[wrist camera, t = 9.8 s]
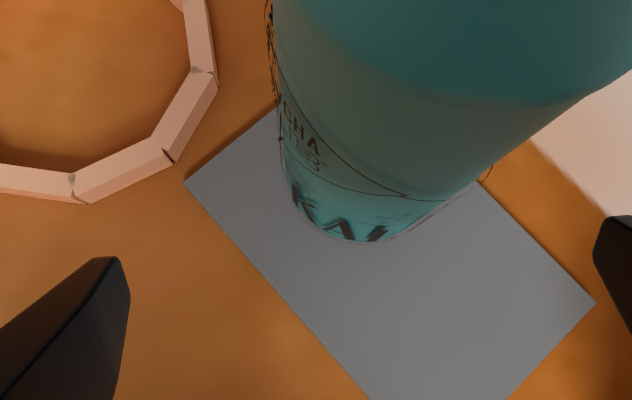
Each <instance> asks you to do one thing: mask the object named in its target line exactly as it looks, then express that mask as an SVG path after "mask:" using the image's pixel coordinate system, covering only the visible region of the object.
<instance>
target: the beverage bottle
mask: <svg viewBox="0 0 632 400" xmlns="http://www.w3.org/2000/svg"><path fill="white" fill-rule="evenodd" d="M267 3H268V0H267V2H266V5H265V9H266V6H267ZM264 18H265V13H264ZM269 18H270V19H271V20H272V25H273V27H274V31H273V33H274V37H275V48H276V52H274V49H273V44H272V43H271V40H270V30H269V22H268V26H267V30H266V32H267V35H268V30H269V35H268V37H269V40H270V43H271V46H272V50H273V52H274V55H275V54H276V55H275V56H274V58H276V61H277V72H278V84H279V95H278V90H277V84H276V81H275V82H274V84H273V86H274V89H275V84H276V90H277V95H278V100H279V103H280V107H281V112H280V117H279V118H280V138H279V137H278V141H279V142H280V156H281V149H282V150H283V148H281V147H282V145H281V140H282V141H283V143H284V145H283V146H284V153H283V155H284V154H285V156H283V155H282V156H283V157H285V159H284V160H285V166H286V176H287V179H286V180H287V182H288V186H289V189H290V193H291V195H292V197H293V199H292V200H293V202H294V203H295V205H296V206H297V207H298V209H299V210H300V211H301V212H302V213H303V215H304V216H305V217H306V218H307V219H308V220H309V221H310V222H311V223H312V224H314V225H315V226H317V227H318V228H319V229H318V230H320V229H321V230H323V231H324V232H326V233H328V234H330V235H332V237H334V236H335V237H337V239H338V238H340V240H341V239H344V240H348V241H349V242H350V241H355V243H356V242H375V241H377V240H382V239H385V238H388V237H391V236H393V235H395V234H397V233H399V232H401V231H403V230H404V229H406V228H407V227H409V226H410V225H412V224H413V223H414V222H416V221H417V220H419V219H420V218H421V219H422V217H423V216H424V215H426V216H427V214H428V215H429V212H430V211H432V210H433V209H435V208H436V207H437V206H439V205H440V204H442V203H443V202H445V201H446V200H450V199H449V198H450V197H452V196H453V195H455V194H456V193H458V192H459V191H461V190H462V189H463V188H465V187H466V186H468V185H469V184H471V183H472V182H473V181H475V180H476V179H477V178H478V177H479V176H480V175H481V174H482V173H483V172H484V171H485V170H487V169H488V168H489V167H491V166H492V168H493V165H494V164H495V163H496V162H498V161H499V160H500V159H502V158H503V157H504V156H506V155H507V154H508V153H510V152H511V151H512V150H514V149H515V148H517V147H518V146H519V145H521V144H522V143H523V142H525V141H526V140H527V139H529V138H530V137H531V136H533V135H534V134H535V133H537V132H538V131H539V130H541V129H542V128H543V127H545V126H546V125H548V124H549V123H550V122H552V121H553V120H554V119H555V118H557V117H558V116H560V115H561V114H562V113H564V112H565V111H567V110H568V109H569V108H571V107H572V106H573V105H575V104H576V103H577V102H579V101H580V100H581V99H583V98H584V97H586V96H588V95H590V94H591V93H594V92H596V91H598V90H600V89H602V88H604V87H605V86H607V85H609V84H611V83H612V82H613V81H615V80H616V79H618V78H619V77H620V76H622V75H624V74H625V73H626V72H628V71H629V70H631V69H632V0H273V7H272V4H271V13H270V12H269ZM264 20H265V19H264ZM265 27H266V26H265ZM272 36H273V34H272ZM269 40H268V38H267V43H268V44H269V48H268V52H269V51H270V43H269ZM268 54H269V53H268ZM269 61H270V56H269ZM272 64H274V62H273V61H272ZM275 64H276V62H275ZM270 67H271V65H270ZM270 69H271V70H272V68H270ZM272 74H273V70H272V71H271V76H272ZM274 74H275V70H274ZM272 78H273V80H272V82H273V81H274V80H275V79H274V76H272ZM274 89H273V92H274ZM274 93H275V92H274ZM275 96H276V95H275ZM276 100H277V99H275V100H274V102H275V103H276ZM277 103H278V101H277ZM277 103H276V104H277ZM279 103H278V106H277V110H278V107H279ZM276 104H275V105H276ZM277 110H276V111H277ZM279 110H280V109H279ZM278 113H279V112H278V111H277V112H276V115H277V116H278V115H279V114H278ZM277 116H276V117H277ZM281 122H282V123H281ZM281 125H282V131H283V137H281ZM278 129H279V128H278ZM278 129H277V131H278ZM283 143H282V144H283ZM283 157H282V158H283ZM282 158H281V160H282ZM281 165H282V161H281ZM492 168H491V169H492ZM283 170H284V169H283ZM490 171H491V170H490ZM284 172H285V171H284ZM284 172H283V173H284ZM489 173H490V172H489ZM489 173H488V174H489ZM282 175H284V174H282ZM286 176H285V178H286ZM487 176H488V175H487ZM484 180H485V179H484ZM484 180H483V181H484ZM483 181H482V182H483ZM283 182H284V181H283ZM482 182H481V183H482ZM481 183H480V184H481ZM284 184H285V183H284ZM480 184H479V185H480ZM479 185H478V186H479ZM287 193H288V192H287ZM287 195H289V194H287ZM461 196H462V195H461ZM290 197H291V196H290ZM459 197H460V196H459ZM452 199H454V198H452ZM456 199H457V197H456ZM292 200H291V201H292ZM454 201H455V200H454ZM293 202H292V203H293ZM449 203H450V202H449ZM449 203H448V204H449ZM292 205H293V204H292ZM445 206H447V204H446V205H445ZM445 206H444V207H445ZM295 208H296V207H295ZM445 208H446V207H445ZM298 209H297V210H298ZM438 209H439V210H440V208H438ZM295 210H296V209H295ZM436 210H437V209H436ZM433 211H434V210H433ZM440 211H441V210H440ZM440 211H439V212H440ZM299 213H300V212H299ZM299 213H298V214H299ZM434 214H435V211H434ZM434 214H433V213H432V212H431V215H432V216H433V215H434ZM299 215H300V214H299ZM301 215H302V214H301ZM304 216H303V217H304ZM429 216H430V215H429ZM429 216H428V217H429ZM428 217H427V218H428ZM430 217H431V216H430ZM430 217H429V218H430ZM429 218H428V219H429ZM307 219H306V220H307ZM422 220H423V219H422ZM426 220H427V219H426ZM426 220H424V221H426ZM419 221H420V220H419ZM424 221H421V222H420V224H421V223H423V222H424ZM310 222H309V223H310ZM312 224H311V225H312ZM420 224H417V225H416V226H415V227H417V226H418V225H420ZM311 225H310V226H311ZM314 225H313V226H314ZM315 226H314V227H315ZM317 227H315V228H317ZM415 227H414V228H415ZM315 228H314V229H315ZM414 228H412V229H414ZM412 229H410V230H412ZM410 230H409V231H410ZM318 232H319V231H318ZM324 232H323V233H324ZM407 232H408V231H407ZM320 233H321V232H320ZM323 233H322V234H323ZM326 233H325V234H326ZM402 235H403V234H402ZM325 236H326V235H325ZM397 236H398V235H397ZM327 237H328V236H327ZM395 237H396V236H395ZM395 237H393V239H394V238H395ZM399 237H400V236H399ZM332 239H333V238H332ZM390 239H391V240H392V238H390ZM334 240H335V239H334ZM344 240H343V241H344ZM386 240H387V239H386ZM391 240H390V241H391ZM337 241H338V240H337ZM348 241H347V242H348ZM382 241H383V240H382ZM388 241H389V240H387V242H388ZM340 242H341V241H340ZM344 243H345V242H344ZM351 243H352V242H351ZM353 243H354V242H353ZM377 243H379V242H377ZM383 243H384V242H383ZM348 244H350V243H348ZM357 244H358V243H357ZM359 244H361V243H359ZM362 244H363V243H362ZM365 244H366V243H365ZM368 244H370V243H368ZM355 245H356V244H355ZM370 245H372V244H370Z"/></svg>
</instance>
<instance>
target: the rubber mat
mask: <svg viewBox="0 0 632 400" xmlns="http://www.w3.org/2000/svg"><path fill="white" fill-rule="evenodd" d="M279 109H280V110H279ZM276 110H277V107H276V108H274V109H273V110H272V111H271V112H269V113H268V114H267V115H266V116H264V117H263V118H262V119H261V120H259V121H258V122H257V123H256V124H254V125H253V126H252V127H251V128H250V129H248V130H247V131H246V132H245V133H243V134H242V135H241V136H240V137H238V138H237V139H236V140H235V141H233V142H232V143H231V144H230V145H229V146H227V147H226V148H225V149H224V150H222V151H221V152H220V153H219V154H217V155H216V156H215V157H214V158H212V159H211V160H210V161H209V162H207V163H206V164H205V165H204V166H203V167H201V168H200V169H199V170H198V171H196V172H195V173H194V174H193V175H191V176H190V177H189V178H188V179H186V180H185V181H184V182H183V185H184V186H185V187H186V188H187V189H188V190H189V192H190V193H191V194H192V195H193V196H194V197H195V198H196V200H197V201H198V202H199V203H200V204H201V205H202V207H203V208H204V209H205V210H206V211H207V212H208V213H209V215H210V216H211V217H212V218H213V219H214V220H215V221H216V223H217V224H218V225H219V226H220V227H221V228H222V230H223V231H224V232H225V233H226V234H227V235H228V236H229V238H230V239H231V240H232V241H233V242H234V243H235V245H236V246H237V247H238V248H239V249H240V250H241V251H242V253H243V254H244V255H245V256H246V257H247V258H248V259H249V261H250V262H251V263H252V264H253V265H254V266H255V268H256V269H257V270H258V271H259V272H260V273H261V274H262V276H263V277H264V278H265V279H266V280H267V281H268V283H269V284H270V285H271V286H272V287H273V288H274V289H275V291H276V292H277V293H278V294H279V295H280V296H281V297H282V299H283V300H284V301H285V302H286V303H287V304H288V306H289V307H290V308H291V309H292V310H293V311H294V312H295V314H296V315H297V316H298V317H299V318H300V319H301V321H302V322H303V323H304V324H305V325H306V326H307V327H308V329H309V330H310V331H311V332H312V333H313V334H314V335H315V337H316V338H317V339H318V340H319V341H320V342H321V344H322V345H323V346H324V347H325V348H326V349H327V350H328V352H329V353H330V354H331V355H332V356H333V357H334V359H335V360H336V361H337V362H338V363H339V364H340V365H341V367H342V368H343V369H344V370H345V371H346V372H347V374H348V375H349V376H350V377H351V378H352V379H353V380H354V382H355V383H356V384H357V385H358V386H359V387H360V388H361V390H362V391H363V392H364V393H365V394H366V395H367V397H368V398H369V399H370V400H506V399H507V398H508V397H509V396H510V395H511V394H512V392H513V391H514V390H515V389H516V388H517V387H518V386H519V385H520V384H521V383H522V382H523V381H524V380H525V379H526V378H527V376H528V375H529V374H530V373H531V372H532V371H533V370H534V369H535V368H536V367H537V366H538V365H539V364H540V363H541V361H542V360H543V359H544V358H545V357H546V356H547V355H548V354H549V353H550V352H551V351H552V350H553V349H554V348H555V347H556V345H557V344H558V343H559V342H560V341H561V340H562V339H563V338H564V337H565V336H566V335H567V334H568V333H569V332H570V331H571V329H572V328H573V327H574V326H575V325H576V324H577V323H578V322H579V321H580V320H581V319H582V318H583V317H584V316H585V314H586V313H587V312H588V311H589V310H590V309H591V308H592V307H593V306H594V305H595V304H596V303H597V302H596V301H595V300H594V299H593V298H592V297H591V296H590V295H589V294H588V293H587V292H586V291H585V290H584V289H583V288H582V287H581V286H580V285H579V284H578V283H577V282H576V281H575V280H574V279H573V278H572V277H571V276H570V275H569V274H568V273H567V272H566V271H565V270H564V269H563V268H562V267H561V266H560V265H559V264H558V263H557V262H556V261H555V260H554V259H553V258H552V257H551V256H550V255H549V254H548V253H547V252H546V251H545V250H544V249H543V248H542V247H541V246H540V245H539V244H538V243H537V242H536V241H535V240H534V239H533V238H532V237H531V236H530V235H529V234H528V233H527V232H526V231H525V230H524V229H523V228H522V227H521V226H520V225H519V224H518V223H517V222H516V221H515V220H514V219H513V218H512V217H511V216H510V215H509V214H508V213H507V212H506V211H505V210H504V209H503V208H502V207H501V206H500V205H499V204H498V203H497V202H496V201H495V200H494V199H493V198H492V197H491V196H490V194H489V193H488V192H487V191H486V190H485V189H484V188H483V187H482V186H481V185H479V183H478V182H477V181H476V180H475V181H473V182H472V183H471V184H469V185H468V186H466V187H465V188H463V189H462V190H461V191H459V192H458V193H456V194H455V195H453V196H452V197H450V198H449V199H450V200H446V201H445V202H443V203H442V204H440V205H439V206H437V207H436V208H435V209H433V210H434V211H435V214H434V211H433V210H432V211H430V212H429V215H430V216H431V217H430V216H429V215H428V214H427V216H426V215H424V216H423V217H422V219H423V220H422V219H421V218H420V219H419V220H420V221H419V220H417V221H416V222H414V223H413V224H412V225H410V226H409V227H407V228H406V229H404V230H403V231H401V232H399V233H397V234H395V235H393V236H391V237H388V238H385V239H382V240H383V241H382V240H377V241H375V242H356V243H355V241H350V242H349V241H348V240H344V239H341V240H340V238H338V239H337V237H335V236H334V237H332V235H330V234H328V233H326V232H324V231H323V230H321V229H320V230H318V229H319V228H318V227H317V226H315V225H314V224H312V223H311V222H310V221H309V220H308V219H307V218H306V217H305V216H304V215H303V213H302V212H301V211H300V210H299V209H298V207H297V206H296V205H295V203H294V202H293V200H292V199H293V197H292V195H291V193H290V189H289V186H288V182H287V180H286V179H287V176H286V166H285V160H284V159H285V157H283V156H285V154H284V155H283V153H284V146H283V145H284V143H283V141H282V140H281V145H282V147H281V148H283V150H282V149H281V156H280V142H279V141H278V137H279V138H280V118H279V117H280V112H281V107H280V104H279V107H278V110H277V111H278V112H279V113H278V114H279V115H278V116H277V115H276V112H277V111H276ZM276 116H277V117H276ZM281 123H282V122H281ZM278 128H279V129H278ZM277 129H278V131H277ZM281 137H283V131H282V125H281ZM282 143H283V144H282ZM282 155H283V156H282ZM282 157H283V158H282ZM281 158H282V160H281ZM281 161H282V165H281ZM283 169H284V170H283ZM284 171H285V172H284ZM283 172H284V173H283ZM282 174H284V175H282ZM285 176H286V178H285ZM283 181H284V182H283ZM284 183H285V184H284ZM478 185H479V186H478ZM287 192H288V193H287ZM287 194H289V195H287ZM461 195H462V196H461ZM290 196H291V197H290ZM459 196H460V197H459ZM456 197H457V199H456ZM452 198H454V199H452ZM291 200H292V201H291ZM454 200H455V201H454ZM292 202H293V203H292ZM449 202H450V203H449ZM448 203H449V204H448ZM292 204H293V205H292ZM446 204H447V206H445V205H446ZM444 206H445V207H446V208H445V207H444ZM295 207H296V208H295ZM438 208H440V210H441V211H440V210H439V209H438ZM295 209H296V210H295ZM297 209H298V210H297ZM436 209H437V210H436ZM439 211H440V212H439ZM299 212H300V213H299ZM431 212H432V213H433V214H434V215H433V216H432V215H431ZM298 213H299V214H300V215H299V214H298ZM301 214H302V215H301ZM303 216H304V217H303ZM428 216H429V217H430V218H429V217H428ZM427 217H428V218H429V219H428V218H427ZM306 219H307V220H306ZM426 219H427V220H426ZM424 220H426V221H424ZM421 221H424V222H423V223H421V224H420V222H421ZM309 222H310V223H309ZM311 224H312V225H311ZM417 224H420V225H418V226H417V227H415V226H416V225H417ZM310 225H311V226H310ZM313 225H314V226H315V227H317V228H315V227H314V226H313ZM414 227H415V228H414ZM314 228H315V229H314ZM412 228H414V229H412ZM410 229H412V230H410ZM409 230H410V231H409ZM318 231H319V232H318ZM407 231H408V232H407ZM320 232H321V233H320ZM323 232H324V233H323ZM322 233H323V234H322ZM325 233H326V234H325ZM402 234H403V235H402ZM325 235H326V236H325ZM397 235H398V236H397ZM327 236H328V237H327ZM395 236H396V237H395ZM399 236H400V237H399ZM393 237H395V238H394V239H393ZM332 238H333V239H332ZM390 238H392V240H391V239H390ZM334 239H335V240H334ZM386 239H387V240H389V241H388V242H387V240H386ZM337 240H338V241H337ZM343 240H344V241H343ZM390 240H391V241H390ZM340 241H341V242H340ZM347 241H348V242H347ZM344 242H345V243H344ZM351 242H352V243H351ZM353 242H354V243H353ZM377 242H379V243H377ZM383 242H384V243H383ZM348 243H350V244H348ZM357 243H358V244H357ZM359 243H361V244H359ZM362 243H363V244H362ZM365 243H366V244H365ZM368 243H370V244H372V245H370V244H368ZM355 244H356V245H355Z"/></svg>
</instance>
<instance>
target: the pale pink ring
mask: <svg viewBox="0 0 632 400" xmlns="http://www.w3.org/2000/svg"><path fill="white" fill-rule="evenodd" d="M169 1H170V2H171V3H172V4H173V5H174V6H175V7H176V8H177V9H179V10H180V11H181V12H182V13H183V14H184V19H185V27H186V35H187V42H188V50H189V58H190V65H191V71H190V72H189V74H188V76H187V77H186V79H185V81H184V82H183V84H182V85H181V87H180V89H179V90H178V92H177V94H176V95H175V97H174V99H173V100H172V102H171V104H170V105H169V107H168V108H167V110H166V112H165V113H164V115H163V117H162V118H161V120H160V122H159V123H158V125H157V127H156V128H155V130H154V132H153V133H152V135H151V136H150V137H149V138H147V139H145V140H143V141H141V142H138V143H136V144H134V145H132V146H130V147H128V148H125V149H123V150H121V151H119V152H117V153H115V154H113V155H110V156H108V157H106V158H104V159H102V160H100V161H98V162H95V163H93V164H91V165H89V166H87V167H85V168H83V169H80V170H78V171H76V172H74V173H72V174H71V173H64V172H57V171H50V170H43V169H36V168H29V167H22V166H15V165H8V164H1V163H0V193H7V194H14V195H21V196H28V197H35V198H42V199H49V200H56V201H63V202H69V203H76V204H83V205H86V203H87V202H88V203H90V204H92V203H94V202H96V201H98V200H100V199H103V198H105V197H107V196H109V195H111V194H113V193H115V192H117V191H119V190H121V189H123V188H126V187H128V186H130V185H132V184H134V183H136V182H138V181H140V180H142V179H144V178H147V177H149V176H151V175H153V174H155V173H157V172H159V171H161V170H163V169H165V168H167V167H170V166H172V165H173V163H172V161H171V159H172V160H174V161H176V162H177V160H178V158H179V157H180V155H181V153H182V152H183V150H184V148H185V146H186V145H187V143H188V141H189V140H190V138H191V136H192V134H193V133H194V131H195V129H196V128H197V126H198V124H199V123H200V121H201V119H202V117H203V116H204V114H205V112H206V111H207V109H208V107H209V105H210V104H211V102H212V100H213V99H214V97H215V95H216V94H217V92H218V87H217V86H219V80H218V73H217V66H216V59H215V52H214V45H213V38H212V32H211V25H210V18H209V12H208V8H207V5H206V2H205V0H169Z"/></svg>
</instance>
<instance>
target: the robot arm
mask: <svg viewBox="0 0 632 400" xmlns="http://www.w3.org/2000/svg"><path fill="white" fill-rule="evenodd" d="M592 257H593V262H594V265H595V267H596V269H597V271H598V273H599V275H600V276H601V278H602V280H603V282H604V284H605V286H606V288H607V290H608V292H609V294H610V296H611V298H612V300H613V302H614V303H615V305H616V307H617V309H618V311H619V313H620V315H621V317H622V319H623V321H624V323H625V324H626V326H627V328H628V330H629V332H630V333H631V335H632V216H630V215H622V216H610V217H608V218H606V219H605V220H604V221H603V223H602V225H601V228H600V231H599V234H598V237H597V240H596V243H595V246H594V248H593V253H592ZM130 300H131V298H130V290H129V287H128V284H127V280H126V277H125V274H124V271H123V268H122V265H121V262H120V260H119V259H118V258H117V257H115V256H107V257H96V258H92V259H91V260H89V261H88V262H87V263H85V264H84V265H83V266H81V267H80V268H79V269H77V270H76V271H75V272H74V273H72V274H71V275H70V276H68V277H67V278H66V279H64V280H63V281H62V282H60V283H59V284H58V285H57V286H55V287H54V288H53V289H51V290H50V291H49V292H47V293H46V294H45V295H43V296H42V297H41V298H40V299H38V300H37V301H36V302H34V303H33V304H32V305H30V306H29V307H28V308H26V309H25V310H24V311H23V312H21V313H20V314H19V315H17V316H16V317H15V318H13V319H12V320H11V321H9V322H8V323H7V324H6V325H4V326H3V327H2V328H0V400H113V396H114V393H115V389H116V385H117V381H118V376H119V371H120V365H121V359H122V353H123V346H124V340H125V334H126V327H127V321H128V315H129V309H130Z"/></svg>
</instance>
